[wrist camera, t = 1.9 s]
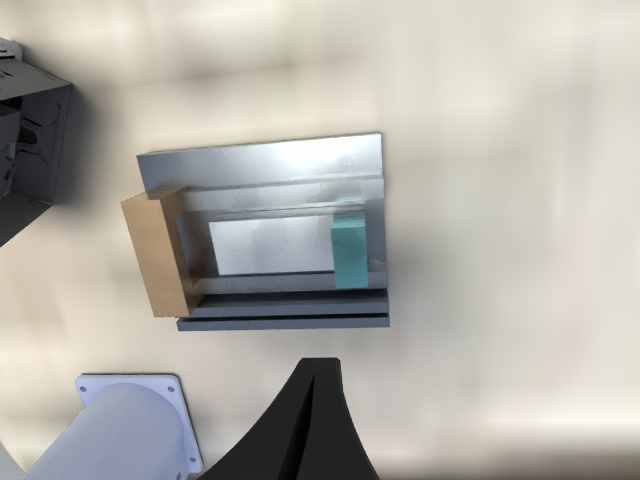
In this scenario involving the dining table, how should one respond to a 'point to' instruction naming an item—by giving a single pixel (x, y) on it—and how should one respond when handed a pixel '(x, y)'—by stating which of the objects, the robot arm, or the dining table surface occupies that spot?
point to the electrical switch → (25, 168)
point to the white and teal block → (294, 242)
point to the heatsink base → (251, 196)
